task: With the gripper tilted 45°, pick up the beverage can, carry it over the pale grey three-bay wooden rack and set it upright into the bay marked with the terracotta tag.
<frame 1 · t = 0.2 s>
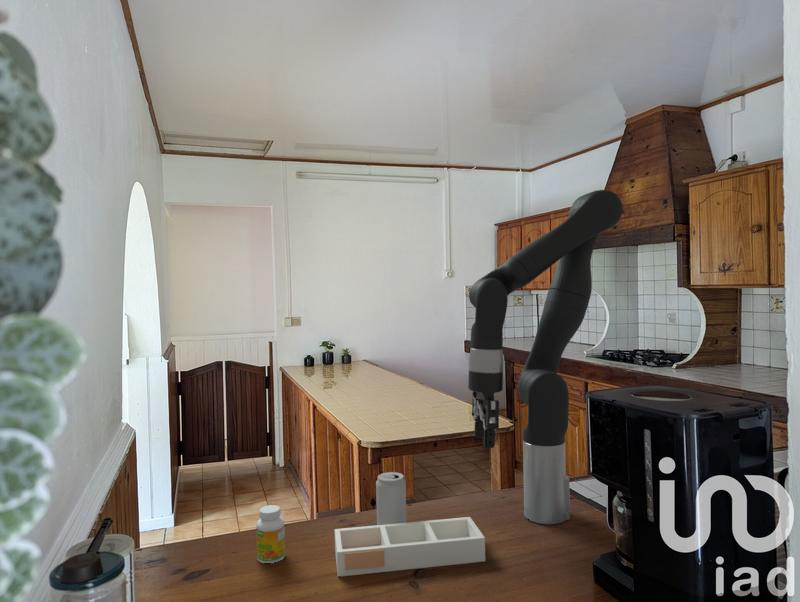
hand: (484, 442, 123), 18 cm above the countertop, tool pointing down, fingers open, 8 cm apart
supplement bottle: (271, 558, 109), on the countertop
beverage can: (391, 531, 120), on the countertop
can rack: (408, 556, 109), on the countertop
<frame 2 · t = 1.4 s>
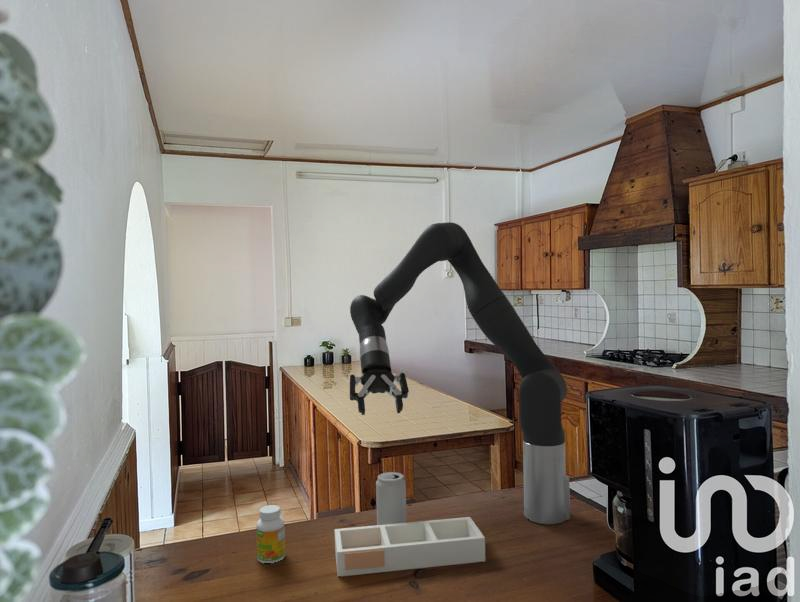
hand: (381, 412, 132), 23 cm above the countertop, tool tilted 45°, fingers open, 8 cm apart
nothing on the countertop moved.
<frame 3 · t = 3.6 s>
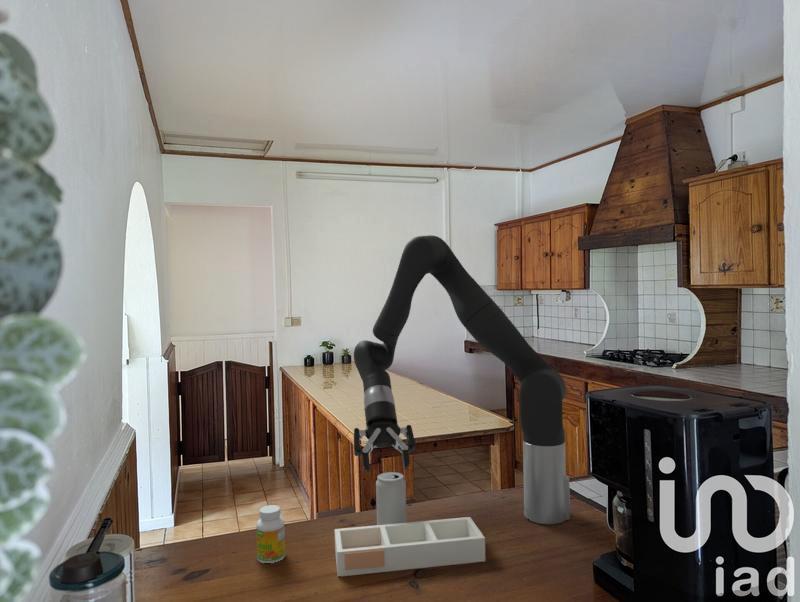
hand: (387, 469, 126), 12 cm above the countertop, tool tilted 45°, fingers open, 8 cm apart
nothing on the countertop moved.
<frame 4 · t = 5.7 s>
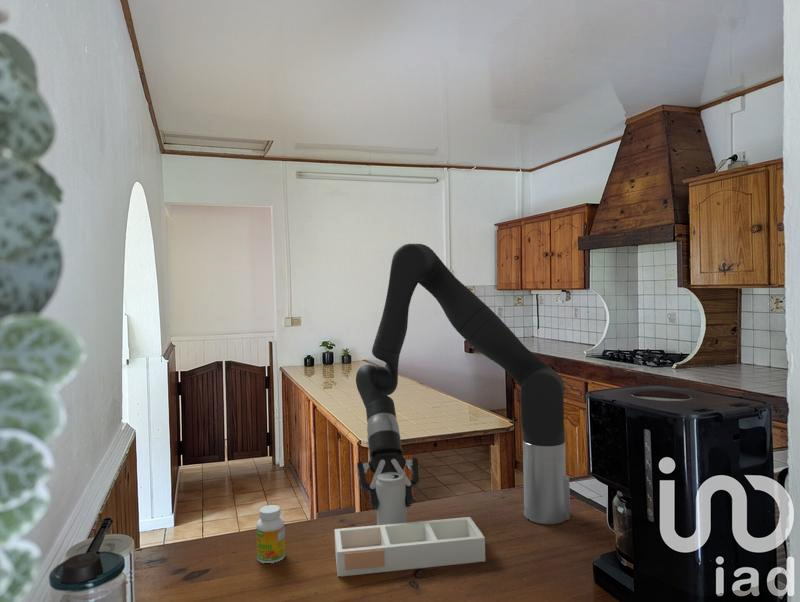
hand: (392, 506, 119), 6 cm above the countertop, tool tilted 45°, fingers closed on beverage can, 6 cm apart
beverage can: (391, 531, 120), on the countertop, touching gripper
everything else where it was.
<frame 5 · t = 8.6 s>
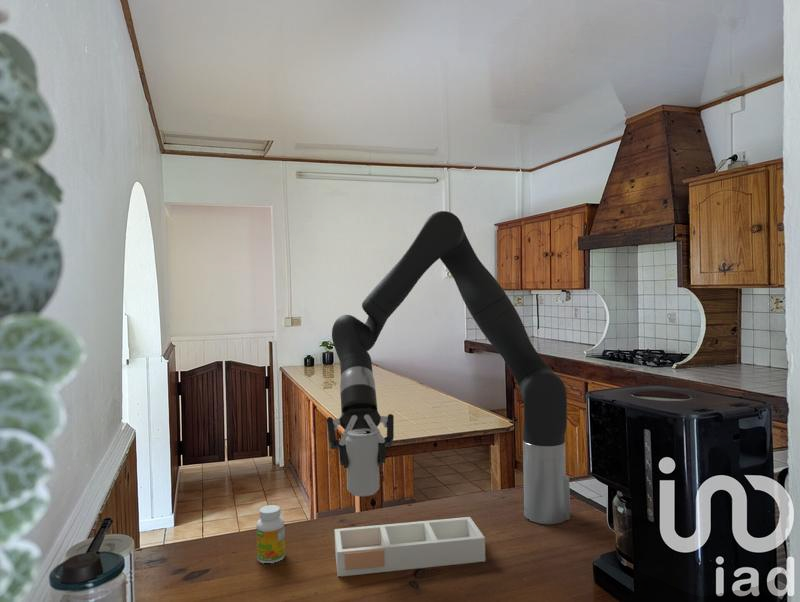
hand: (363, 464, 108), 18 cm above the countertop, tool tilted 45°, fingers closed on beverage can, 6 cm apart
beverage can: (363, 492, 110), point 12 cm above the countertop, touching gripper
everything else where it was.
when the fingers open (8 cm above the countertop, at t = 11.3 s): beverage can drops 1 cm, resting on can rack.
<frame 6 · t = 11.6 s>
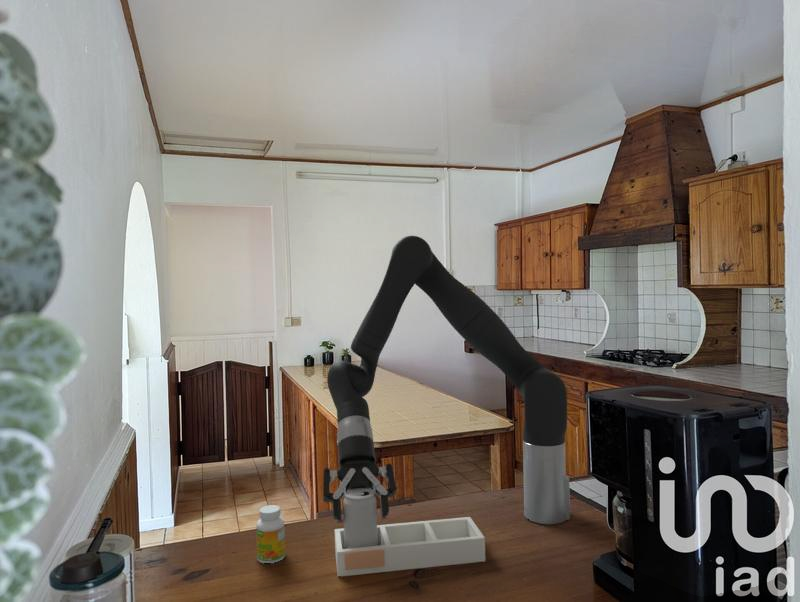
hand: (361, 519, 106), 9 cm above the countertop, tool tilted 45°, fingers open, 8 cm apart
beverage can: (361, 555, 107), point 1 cm above the countertop, touching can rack
everything else where it was.
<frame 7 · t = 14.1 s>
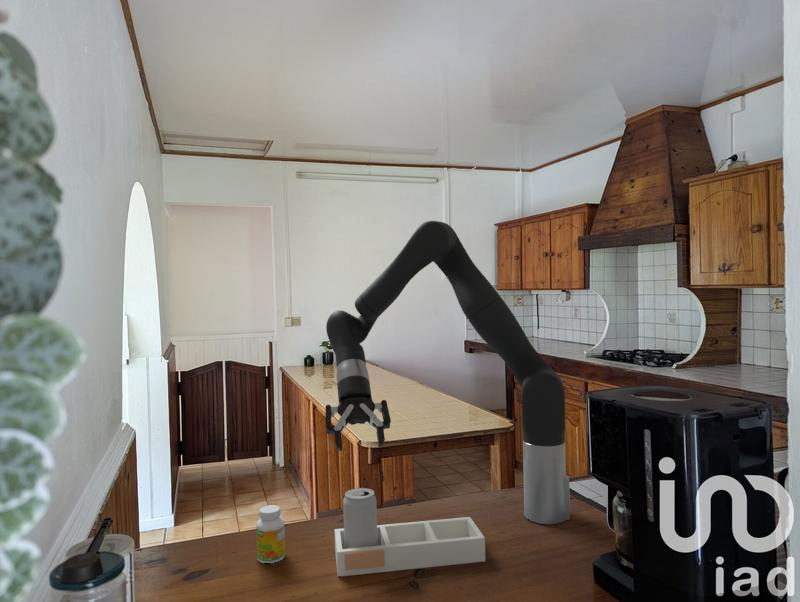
hand: (360, 447, 119), 19 cm above the countertop, tool tilted 45°, fingers open, 8 cm apart
nothing on the countertop moved.
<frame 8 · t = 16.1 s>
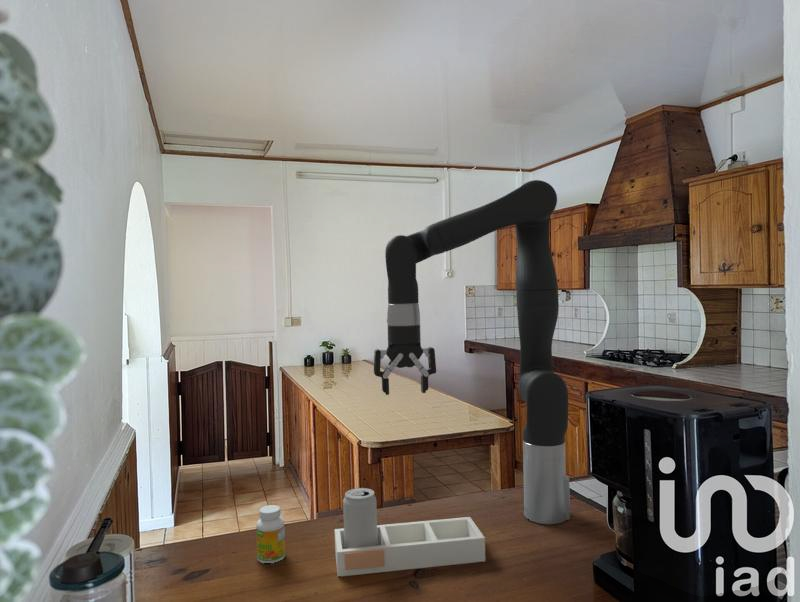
hand: (405, 393, 128), 28 cm above the countertop, tool pointing down, fingers open, 8 cm apart
nothing on the countertop moved.
at the end: beverage can 0.3 cm from the target spot on the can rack, point 1.0 cm above the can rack's base; beverage can tilted 0°; the gripper is holding nothing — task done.
